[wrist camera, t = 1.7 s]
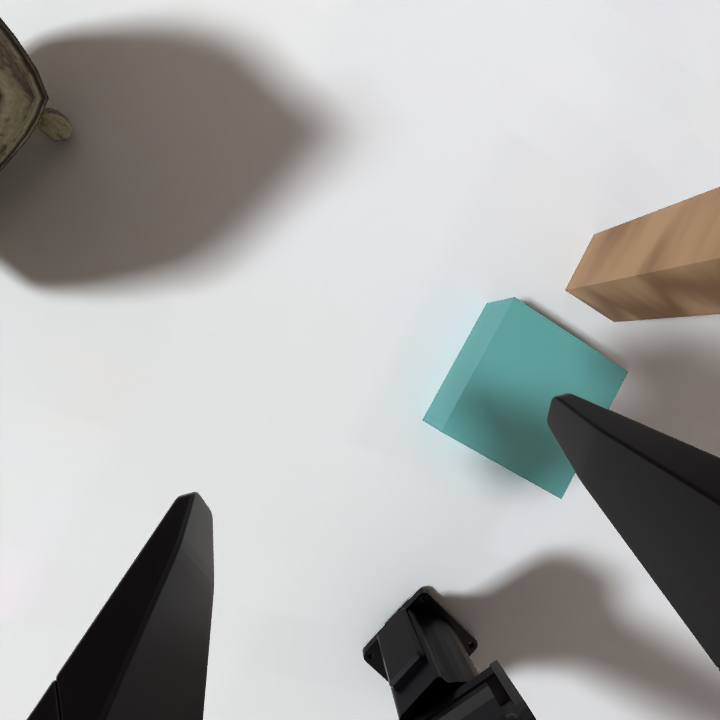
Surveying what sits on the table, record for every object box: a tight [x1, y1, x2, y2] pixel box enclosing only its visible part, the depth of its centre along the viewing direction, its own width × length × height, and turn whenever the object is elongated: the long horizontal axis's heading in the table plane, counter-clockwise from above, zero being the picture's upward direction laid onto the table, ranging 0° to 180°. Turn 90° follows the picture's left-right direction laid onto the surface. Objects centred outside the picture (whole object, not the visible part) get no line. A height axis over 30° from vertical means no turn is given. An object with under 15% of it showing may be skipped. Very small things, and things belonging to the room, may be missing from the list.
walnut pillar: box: [566, 187, 720, 322], centre depth 23 cm, size 5×5×13 cm
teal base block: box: [423, 297, 628, 499], centre depth 26 cm, size 10×10×4 cm
